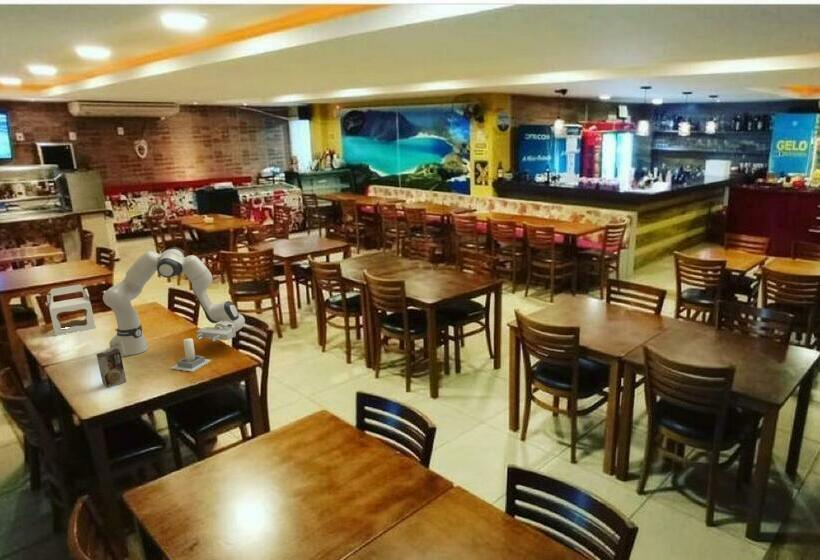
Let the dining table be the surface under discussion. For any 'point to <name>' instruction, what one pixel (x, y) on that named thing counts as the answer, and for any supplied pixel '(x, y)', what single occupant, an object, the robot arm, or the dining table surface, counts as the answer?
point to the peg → (189, 350)
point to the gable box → (70, 306)
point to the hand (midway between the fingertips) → (205, 338)
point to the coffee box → (111, 368)
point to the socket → (191, 364)
